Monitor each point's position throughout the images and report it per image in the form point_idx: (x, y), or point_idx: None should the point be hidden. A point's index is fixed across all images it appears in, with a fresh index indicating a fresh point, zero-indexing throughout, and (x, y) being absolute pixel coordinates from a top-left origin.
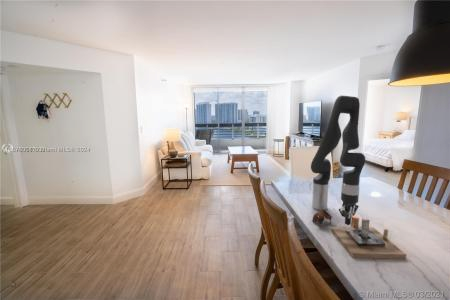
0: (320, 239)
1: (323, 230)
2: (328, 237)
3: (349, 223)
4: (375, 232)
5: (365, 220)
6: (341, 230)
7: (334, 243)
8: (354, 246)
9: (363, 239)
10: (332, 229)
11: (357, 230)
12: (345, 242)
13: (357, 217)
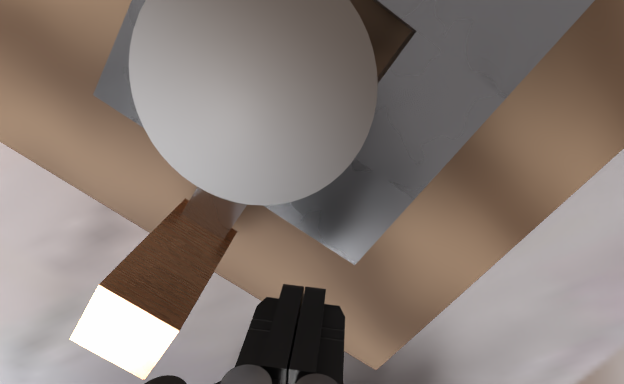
0: (613, 324)
1: (425, 372)
2: (515, 300)
3: (310, 300)
4: (40, 46)
5: (319, 68)
6: (351, 286)
7: (589, 221)
8: (615, 29)
9: (422, 10)
10: (402, 342)
11: None
12: (594, 145)
13: (101, 310)
